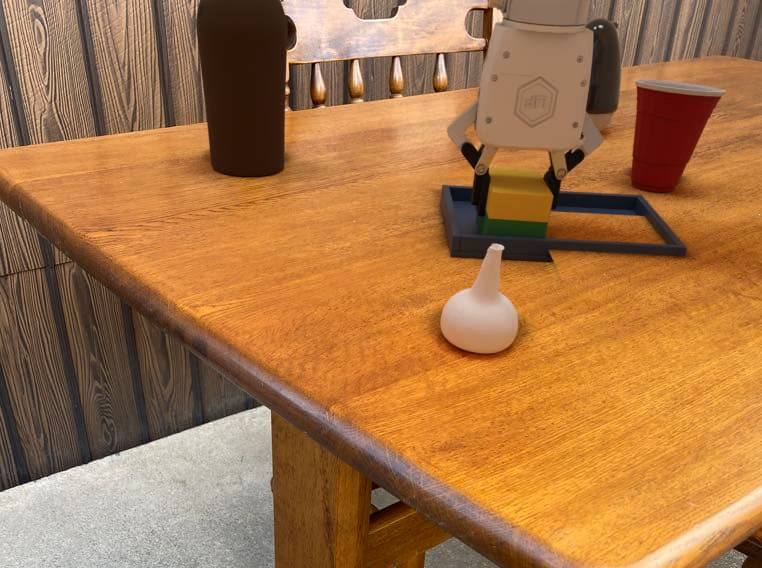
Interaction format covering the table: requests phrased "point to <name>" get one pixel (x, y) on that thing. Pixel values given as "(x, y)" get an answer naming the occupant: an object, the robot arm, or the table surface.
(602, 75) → the grey rounded egg shape
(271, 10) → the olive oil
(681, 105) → the plastic cup
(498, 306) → the garlic bulb
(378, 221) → the table surface
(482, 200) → the robot arm
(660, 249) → the tray
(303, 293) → the table surface
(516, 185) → the sponge
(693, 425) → the table surface
